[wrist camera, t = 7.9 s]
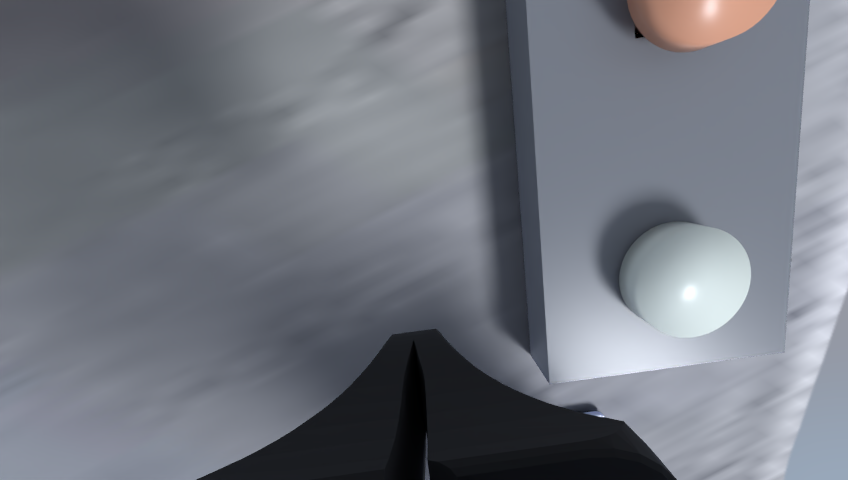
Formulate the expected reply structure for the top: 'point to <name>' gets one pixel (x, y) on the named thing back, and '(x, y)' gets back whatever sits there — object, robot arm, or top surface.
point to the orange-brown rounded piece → (694, 21)
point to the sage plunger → (685, 278)
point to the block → (649, 174)
